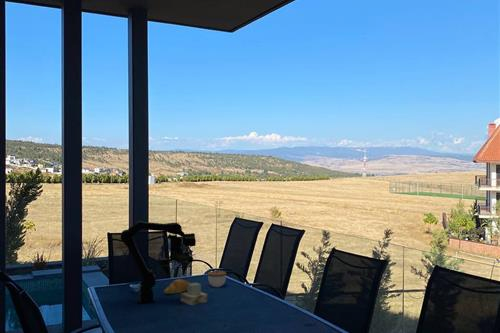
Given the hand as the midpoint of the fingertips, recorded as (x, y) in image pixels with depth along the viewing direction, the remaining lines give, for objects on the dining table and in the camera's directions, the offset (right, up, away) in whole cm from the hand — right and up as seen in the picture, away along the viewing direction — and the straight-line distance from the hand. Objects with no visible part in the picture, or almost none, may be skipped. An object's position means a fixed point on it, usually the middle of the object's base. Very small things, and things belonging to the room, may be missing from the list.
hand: (175, 276), depth 244 cm
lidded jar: (+20, -13, +30) cm, 38 cm away
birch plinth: (+10, -12, -3) cm, 16 cm away
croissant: (-1, -13, +18) cm, 22 cm away
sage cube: (+10, -8, -3) cm, 13 cm away
